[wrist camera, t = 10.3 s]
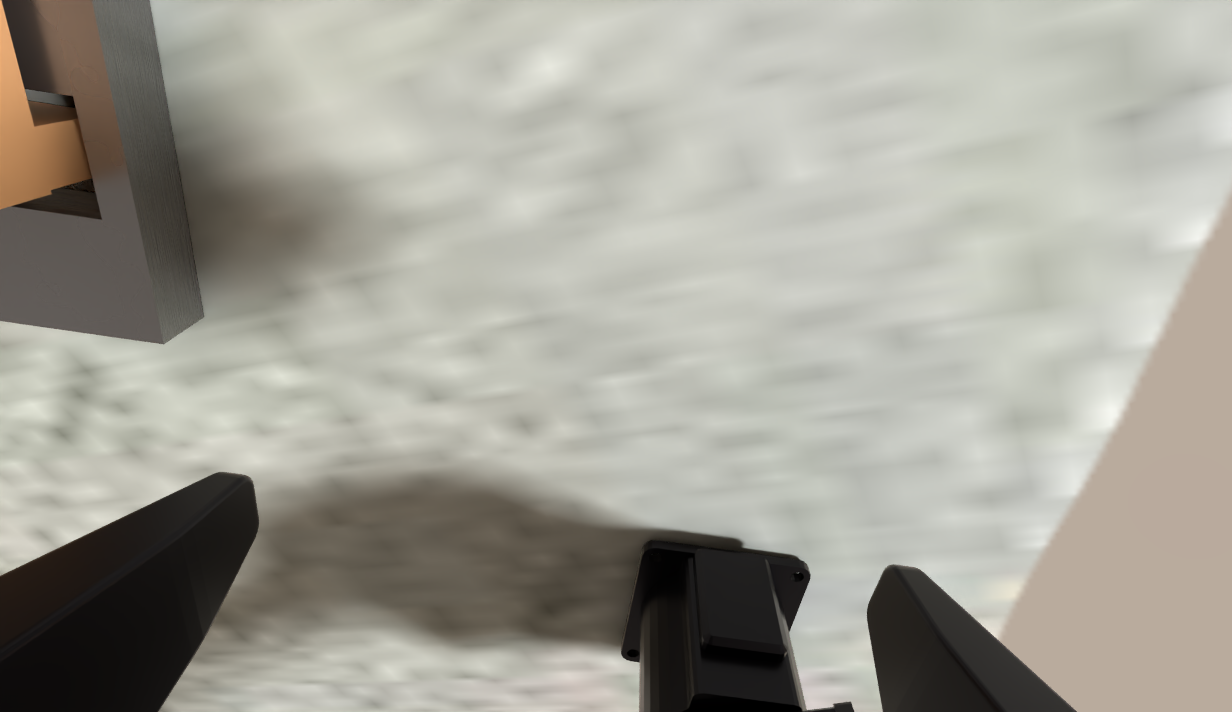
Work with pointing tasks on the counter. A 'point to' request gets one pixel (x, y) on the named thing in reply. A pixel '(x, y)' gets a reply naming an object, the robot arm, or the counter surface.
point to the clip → (34, 137)
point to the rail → (101, 182)
